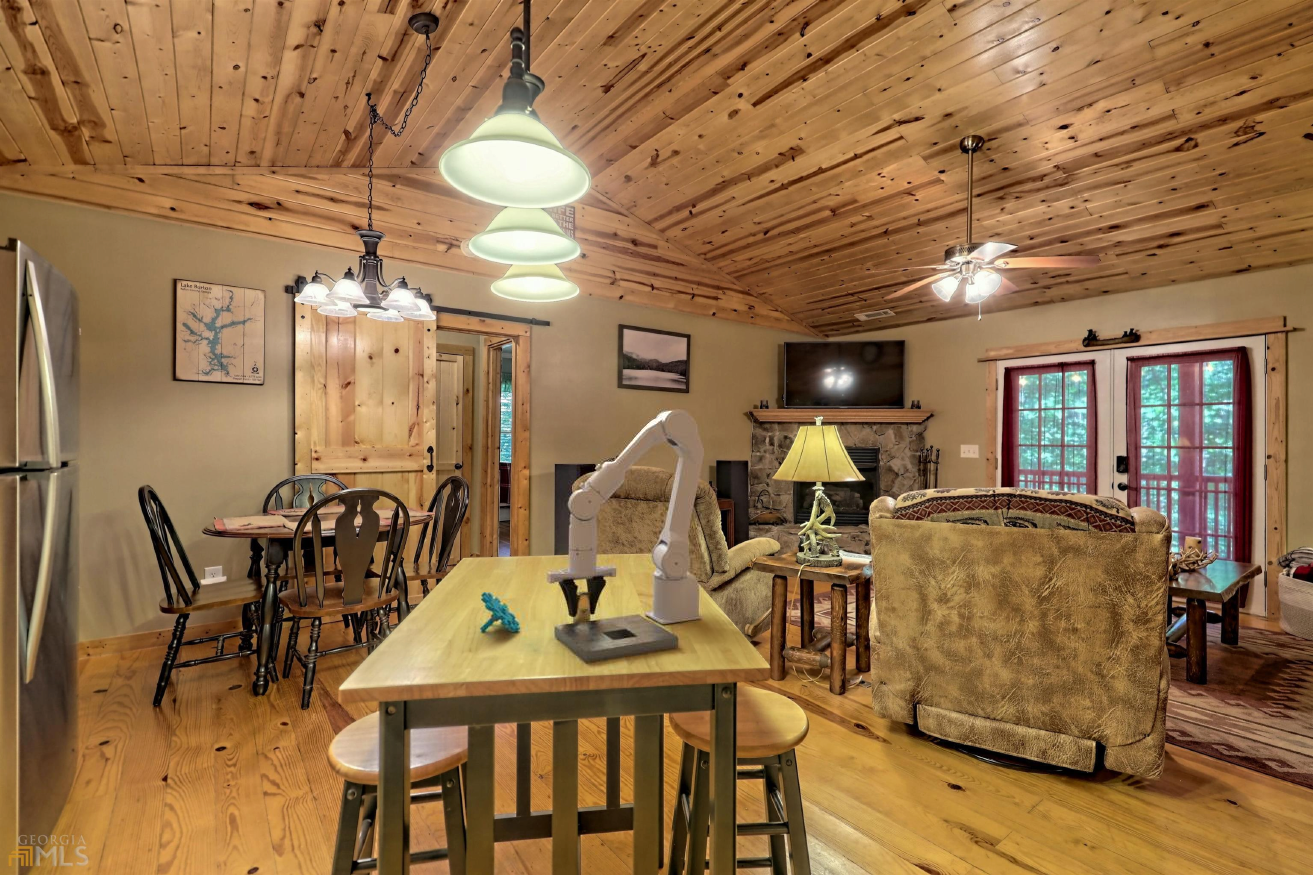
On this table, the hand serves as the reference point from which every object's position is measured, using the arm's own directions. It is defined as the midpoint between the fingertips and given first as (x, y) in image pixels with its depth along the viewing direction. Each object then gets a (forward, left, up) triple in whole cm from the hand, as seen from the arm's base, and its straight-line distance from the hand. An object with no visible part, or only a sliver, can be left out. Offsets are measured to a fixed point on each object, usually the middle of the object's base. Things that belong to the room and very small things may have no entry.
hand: (581, 614), depth 130 cm
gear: (+16, -2, -2) cm, 16 cm away
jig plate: (-1, +14, -2) cm, 14 cm away
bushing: (0, 0, -2) cm, 2 cm away
